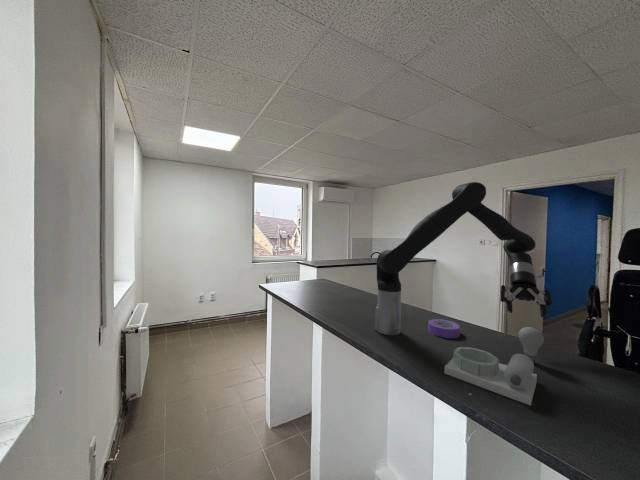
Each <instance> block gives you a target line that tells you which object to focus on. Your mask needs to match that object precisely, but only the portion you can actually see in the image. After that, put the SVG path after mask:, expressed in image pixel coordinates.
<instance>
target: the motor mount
mask: <svg viewBox="0 0 640 480" xmlns="http://www.w3.org/2000/svg"><path fill="white" fill-rule="evenodd" d="M452 352H453V353H452V354H453V357H452V358H451V360H449V361H448V362H447V363H446V364H445V366H444V370H443V371H444V374H445V375H447V376H451V377H453V378H455V379H458V380H461V381H463V382H465V383H468V384H471V385H475V386H477V387H479V388H482V389H485V390H487V391H490V392H493V393H496V394H498V395H500V396H503V397H507V398H509V399H512V400H515V401H516V402H517V401H518V402H520V403H522V404H525V405H527V406H530V407H531V406H532V402H533V399H534V393H535V391H536V387H537V382H538V381H537V380H538V374H536V373H533V372H534V369H535V365H534V363H535V362H533V361H532V360H531V359H530V358H529V357H527V356H526V355H525V354H523V353H515V354H513V355H512V356H511V358H510V360H509V362H508V363H507V364H503V363H500V360H499V358H498V357H497V356H495V355H494V354H492V353H491V352H490V351H489V352H488V351H486V350H482V349H479V348H475V347H471V346H470V347H467V346H466V347H465V346H464V347H463V346H461V347H460V346H458V347H457V348H455V349H454V350H453V351H452Z"/></svg>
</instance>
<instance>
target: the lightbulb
mask: <svg viewBox="0 0 640 480" xmlns="http://www.w3.org/2000/svg"><path fill="white" fill-rule="evenodd" d="M518 338H519V340H520V343H521V345H522V347H523V352H524V355H526V356H527V357H529V358H530V359H531V360H532V361H533V363H535V362H537V355H538V352H539V349H540V348H541V347H542V345H543V344H544V342H545V337H544V335H543V334H542V332H541V331H540V330H539V329H538V328H535V327H532V326H524V327H523V328H520V330H519V332H518Z"/></svg>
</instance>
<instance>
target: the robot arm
mask: <svg viewBox="0 0 640 480" xmlns="http://www.w3.org/2000/svg"><path fill="white" fill-rule="evenodd" d="M486 196H487V189H486V186H485V185H484V184H483V183H481V182H477V181H473V182H472V181H470V182H467V183H462V184H460V185H458V186H456V187H454V189H453V190H452V193H451V198H452V200H450V201H449V202H448V203H447V204H444V205H442V206H441V207H439V208H437V209H435V210H434V211H432V212H431V213H428V215H426V216H425V217H423V219H422V220H420V221H419V222H418V223H417V224H416V225H415V226H414V227H413V228H412V229H411V231H410V233H409V234H408V236H406V238H405V239H404V240H403V241H402V242H401V243H399V244H398V245H397V246H396V247H394V248H393V249H389V250H388V249H386V250H382V251H381V252H380V253H378V256H377V258H376V282H377V305H376V306H375V309H374V310H375V311H374V313H375V315H374V330H375V331H377V332H378V333H380V334H381V335H386V336H397V335H400V334H401V312H402V307H401V306H402V283H401V280H400V276H399V273H400V272H401V271H402V270H404V268H405V267H406V266H407V265H408V264H409V263H410V262H411V261H412V260H413V259H414V257H416V256H417V255H418V254H419V253H420V252H421V251H423V250H424V249H425V248H426V247H428V246H429V245H430V244H431V243H433V242H434V241H435V240H436V239H438V238H439V237H440V236H441V235H442V234H444V233H445V231H447V229H449V228H450V227H451V226H453V224H455V223H456V222H458V220H459V219H460V218H461V217H463V216H464V215H465V214H467V213H469V214H470V215H471V216H473V217H474V218H475V219H476V220H478V221H479V222H480V223H482V225H484V226H485V227H486V228H487V229H488V230H489V231H490V232H491V233H492V234H493V235H495V237H496V238H497V239H498V240H500V241H505V242H504V243H503V245H502V247H503V251H504V252H505V254H506V256H507V257H508V260H509V280H510V287H509V286H505V285H504V284H502V285H501V286H500V298H499V300H500V302H502V303H506V310H507V312H509V313H510V314H512V313H513V302H515V301H516V300H518V301H526V302H532V303H533V304H535V305H537V306H538V307H539V314H540V317H541V318H544V317H546V316H547V314H548V312H547V308H549V309H551V308H552V305H553V300H552V295H551V292H550V289H547V288H545V289H544V290H540V289H539V288H538V287H537V279H536V273H535V269H534V265H533V259H532V256H531V255H530V254H529V253H528V252H531V251H533V250H534V249H535V248H536V242H535V239H534V238H533V237H532V236H531V235H529V234H527V233H525V232H523V231H522V230H519V229H517V228H516V227H514V226H513V225H512V224H511V223H510V221H508V219H507V218H505V217H504V216H503V215H501V214H499V213H498V212H496V211H494V210H492V209H491V208H489V207H487V206H486V205H485V204H484V203H482V201H484V199H485V198H486ZM508 292H509V293H510V295H509V296H508V297H506V294H507V293H508ZM539 295H541V296H539ZM541 297H542V298H544V300H543V299H542V298H541Z"/></svg>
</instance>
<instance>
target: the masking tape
mask: <svg viewBox="0 0 640 480" xmlns="http://www.w3.org/2000/svg"><path fill="white" fill-rule="evenodd" d="M427 327H428V328H427V331H428V332H429V334H432V335H433V336H437V337H440V338H445V339H446V338H447V339H456V338H460V335H461V326H460V324H458V323H457V322H456V321H455V322H454V321H451V320H447V319H442V318H439V319H438V318H433V319H429V320H428V323H427Z"/></svg>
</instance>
